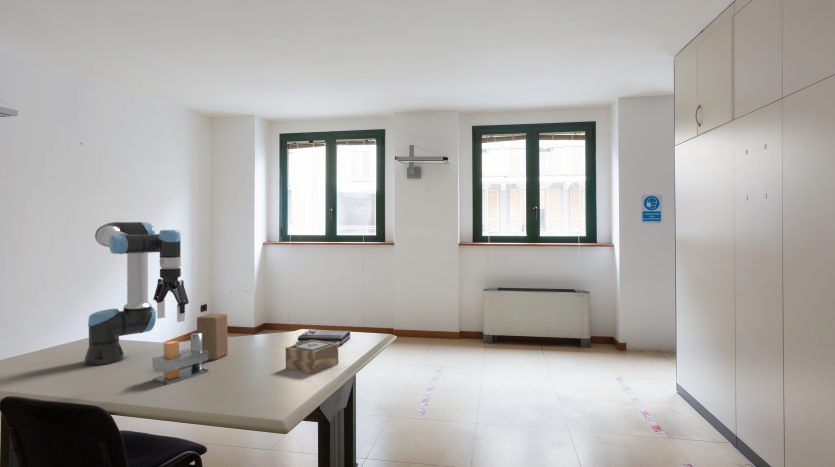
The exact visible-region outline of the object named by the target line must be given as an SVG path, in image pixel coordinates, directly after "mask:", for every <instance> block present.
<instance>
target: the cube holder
mask: <svg viewBox="0 0 835 467" xmlns="http://www.w3.org/2000/svg"><path fill="white" fill-rule="evenodd" d="M312 341H313V342H319V343H326V344H329V346H328V347H325V348H322V349H319V350H316V351H307V350H301V349H296V346H299V345H302V344H305V343H308V342H312ZM338 364H339V346H338V344H336V343H330V342H323V341H317V340H309V341H306V342H302V343H299V344H296V343H295V344H294V345H290V346H286V347H285V369H287V368H288V370H292V369H293V371H298V372H303V373H306V374H310V375H311V374H312V375H314V374H316V373H319V372H322V371H324V370H327V369H329V368H331V367H334V366H336V365H337V366H338Z"/></svg>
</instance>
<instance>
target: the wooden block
mask: <svg viewBox="0 0 835 467" xmlns="http://www.w3.org/2000/svg"><path fill="white" fill-rule="evenodd" d="M196 333H202V349H203V350H208V360H207V361H215V360H219V359H220V358H224V357H225V356H227V355H228V353H229V352H228V351H229V350H228V347H229V346H228V344H229V343H228V340H229V339H228V336H229V334H228V314H226V313H207V314H204V315H200V316H198V317H197V318H196Z"/></svg>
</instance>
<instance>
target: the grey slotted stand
mask: <svg viewBox="0 0 835 467" xmlns="http://www.w3.org/2000/svg"><path fill="white" fill-rule="evenodd" d="M205 361H209V360H208V350H203V349H202V333H197V332H193V333H191V334H190V348H186V349H183V350H179V357H176V358H172V359H166V358H164V354H163V355H159V356H156V357H152V362H151V363H152V367H151V368H152V369H156V370H159V371H163V372H164V371H167V372H168V371H171V370H175V369H178V368H179V376H178V377H175V378H171V379H169V378H165V377H164V374H163V375H159V376H156V377H152V381H154V382H157V383H161V384H165V385H170V384H173V383H177V382H179V381H183V380H185V379H189V378H193V377H195V376H198V375H201V374H206V373H207V372H208V373H209V369H207V368H203V362H205ZM188 366H190V367H188ZM185 367H187V368H185ZM180 368H181V369H180ZM182 368H183V369H182Z"/></svg>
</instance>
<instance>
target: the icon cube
mask: <svg viewBox="0 0 835 467" xmlns="http://www.w3.org/2000/svg"><path fill="white" fill-rule="evenodd" d="M328 346H329V344H326V343H319V342H313V341H312V342H308V343H305V344H302V345H299V346H296V349H301V350H307V351H316V350H319V349H322V348H325V347H328Z"/></svg>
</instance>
